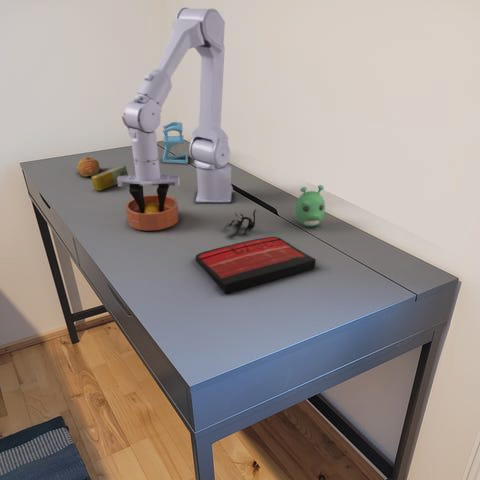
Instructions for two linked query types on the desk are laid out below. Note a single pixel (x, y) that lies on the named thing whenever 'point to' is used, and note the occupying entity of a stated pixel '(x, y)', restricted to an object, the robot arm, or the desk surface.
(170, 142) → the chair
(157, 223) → the bowl
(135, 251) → the desk surface
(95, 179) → the medication box
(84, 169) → the pastry
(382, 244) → the desk surface
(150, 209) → the blob
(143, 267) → the desk surface
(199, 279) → the desk surface
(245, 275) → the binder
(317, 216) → the alien toy
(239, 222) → the creature
